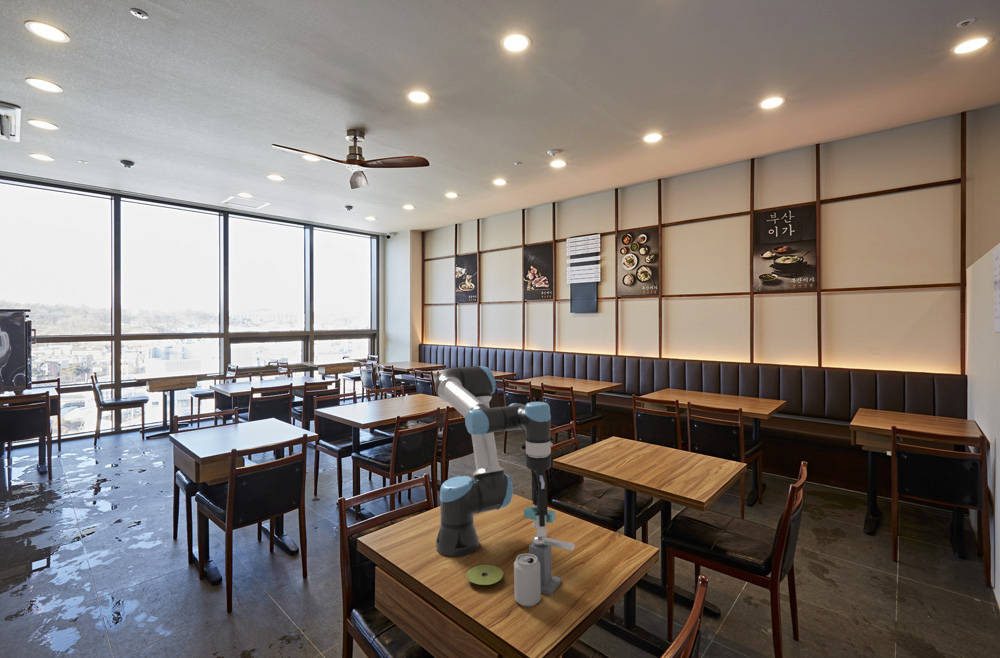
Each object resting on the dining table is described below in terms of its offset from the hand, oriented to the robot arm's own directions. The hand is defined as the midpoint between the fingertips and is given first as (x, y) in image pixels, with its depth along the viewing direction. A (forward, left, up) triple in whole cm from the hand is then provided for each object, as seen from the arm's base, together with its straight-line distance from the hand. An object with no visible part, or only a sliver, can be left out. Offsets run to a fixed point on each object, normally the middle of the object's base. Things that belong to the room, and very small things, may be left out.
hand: (539, 531), depth 135 cm
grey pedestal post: (0, 0, -16) cm, 16 cm away
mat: (-16, -6, -16) cm, 24 cm away
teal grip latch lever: (+3, 0, -4) cm, 5 cm away
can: (0, -9, -16) cm, 19 cm away
